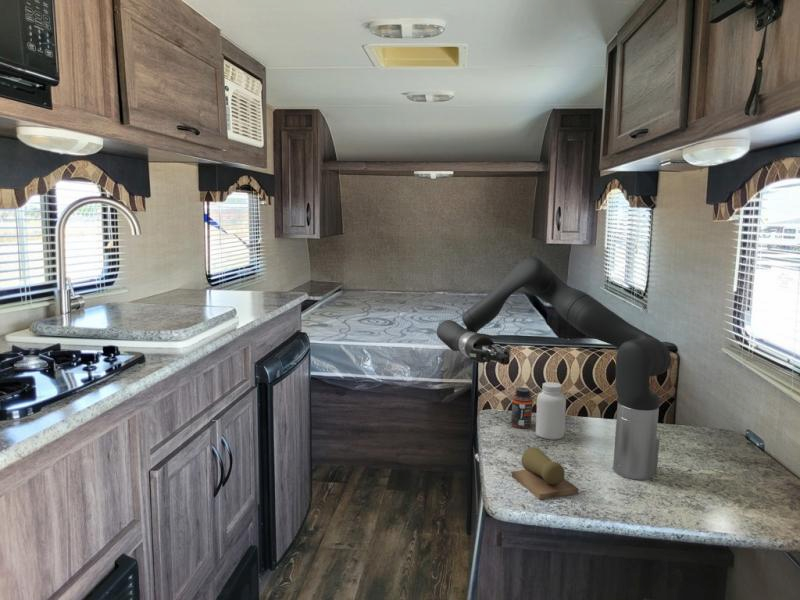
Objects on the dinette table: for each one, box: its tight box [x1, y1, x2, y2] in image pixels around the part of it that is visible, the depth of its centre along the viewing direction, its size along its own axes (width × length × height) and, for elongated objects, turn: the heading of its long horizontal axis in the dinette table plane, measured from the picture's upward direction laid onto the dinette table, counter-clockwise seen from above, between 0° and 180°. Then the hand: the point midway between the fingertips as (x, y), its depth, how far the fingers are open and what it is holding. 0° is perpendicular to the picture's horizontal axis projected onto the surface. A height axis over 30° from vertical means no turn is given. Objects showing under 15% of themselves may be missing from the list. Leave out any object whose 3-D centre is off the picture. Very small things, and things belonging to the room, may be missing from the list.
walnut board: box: [511, 469, 579, 500], centre depth 133 cm, size 10×12×1 cm
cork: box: [521, 446, 565, 485], centre depth 134 cm, size 6×6×11 cm
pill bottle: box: [535, 381, 567, 441], centre depth 163 cm, size 8×8×15 cm
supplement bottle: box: [510, 386, 534, 429], centre depth 170 cm, size 6×6×11 cm
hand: (506, 360), depth 147 cm, fingers closed
